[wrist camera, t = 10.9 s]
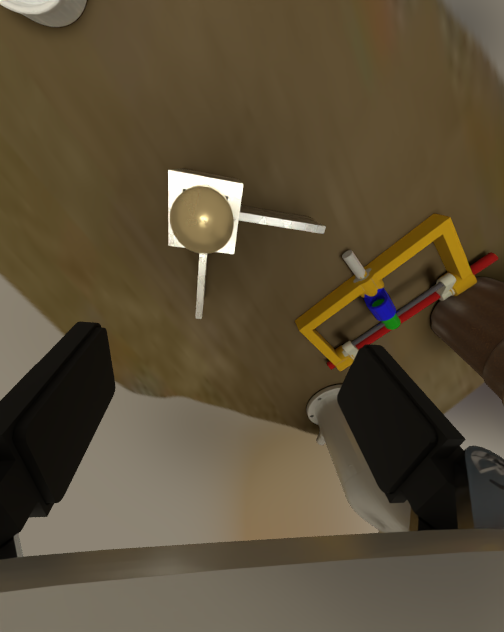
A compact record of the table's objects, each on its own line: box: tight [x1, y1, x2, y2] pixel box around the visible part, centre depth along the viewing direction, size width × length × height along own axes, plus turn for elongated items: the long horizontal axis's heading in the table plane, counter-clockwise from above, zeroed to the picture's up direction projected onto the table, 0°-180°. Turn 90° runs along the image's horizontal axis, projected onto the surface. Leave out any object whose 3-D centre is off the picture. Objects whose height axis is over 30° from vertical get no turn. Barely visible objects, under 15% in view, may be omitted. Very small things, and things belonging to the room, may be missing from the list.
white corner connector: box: [168, 169, 326, 319], centre depth 30 cm, size 16×16×9 cm
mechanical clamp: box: [295, 214, 498, 371], centre depth 37 cm, size 18×6×30 cm
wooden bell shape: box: [170, 185, 234, 254], centre depth 25 cm, size 5×5×11 cm
